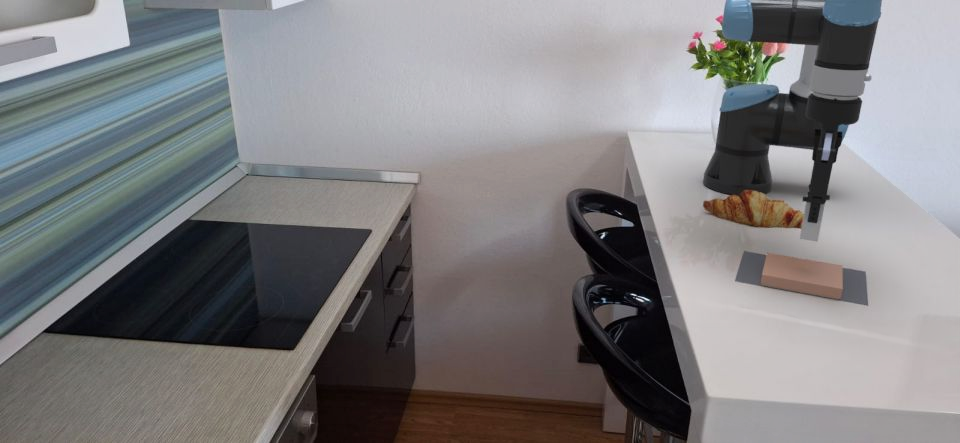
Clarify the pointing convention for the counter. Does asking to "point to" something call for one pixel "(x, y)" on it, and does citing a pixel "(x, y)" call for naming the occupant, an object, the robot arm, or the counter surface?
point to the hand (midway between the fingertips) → (808, 238)
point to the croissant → (755, 210)
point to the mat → (851, 292)
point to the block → (803, 276)
